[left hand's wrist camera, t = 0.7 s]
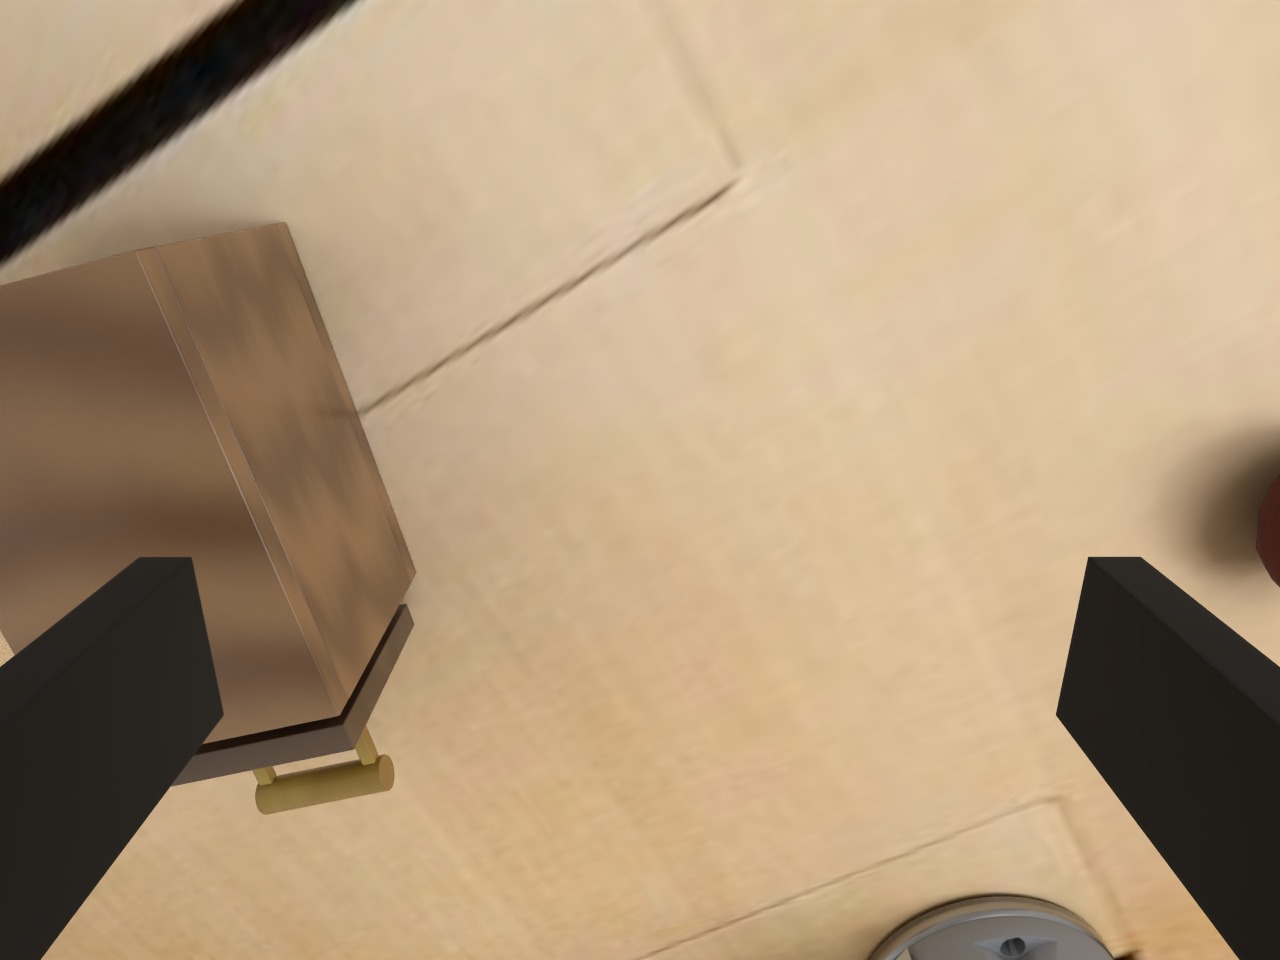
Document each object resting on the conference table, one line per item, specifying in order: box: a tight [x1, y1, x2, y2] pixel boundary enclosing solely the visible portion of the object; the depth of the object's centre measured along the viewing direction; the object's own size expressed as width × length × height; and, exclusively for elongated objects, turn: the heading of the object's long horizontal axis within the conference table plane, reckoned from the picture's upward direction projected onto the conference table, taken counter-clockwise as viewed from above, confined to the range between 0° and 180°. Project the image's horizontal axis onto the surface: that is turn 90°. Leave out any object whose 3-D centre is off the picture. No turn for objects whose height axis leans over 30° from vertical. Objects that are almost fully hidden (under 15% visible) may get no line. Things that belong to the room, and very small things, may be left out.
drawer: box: [170, 604, 414, 815], centre depth 35 cm, size 21×9×9 cm, turn 14°
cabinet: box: [0, 223, 416, 744], centre depth 34 cm, size 17×10×11 cm, turn 14°
